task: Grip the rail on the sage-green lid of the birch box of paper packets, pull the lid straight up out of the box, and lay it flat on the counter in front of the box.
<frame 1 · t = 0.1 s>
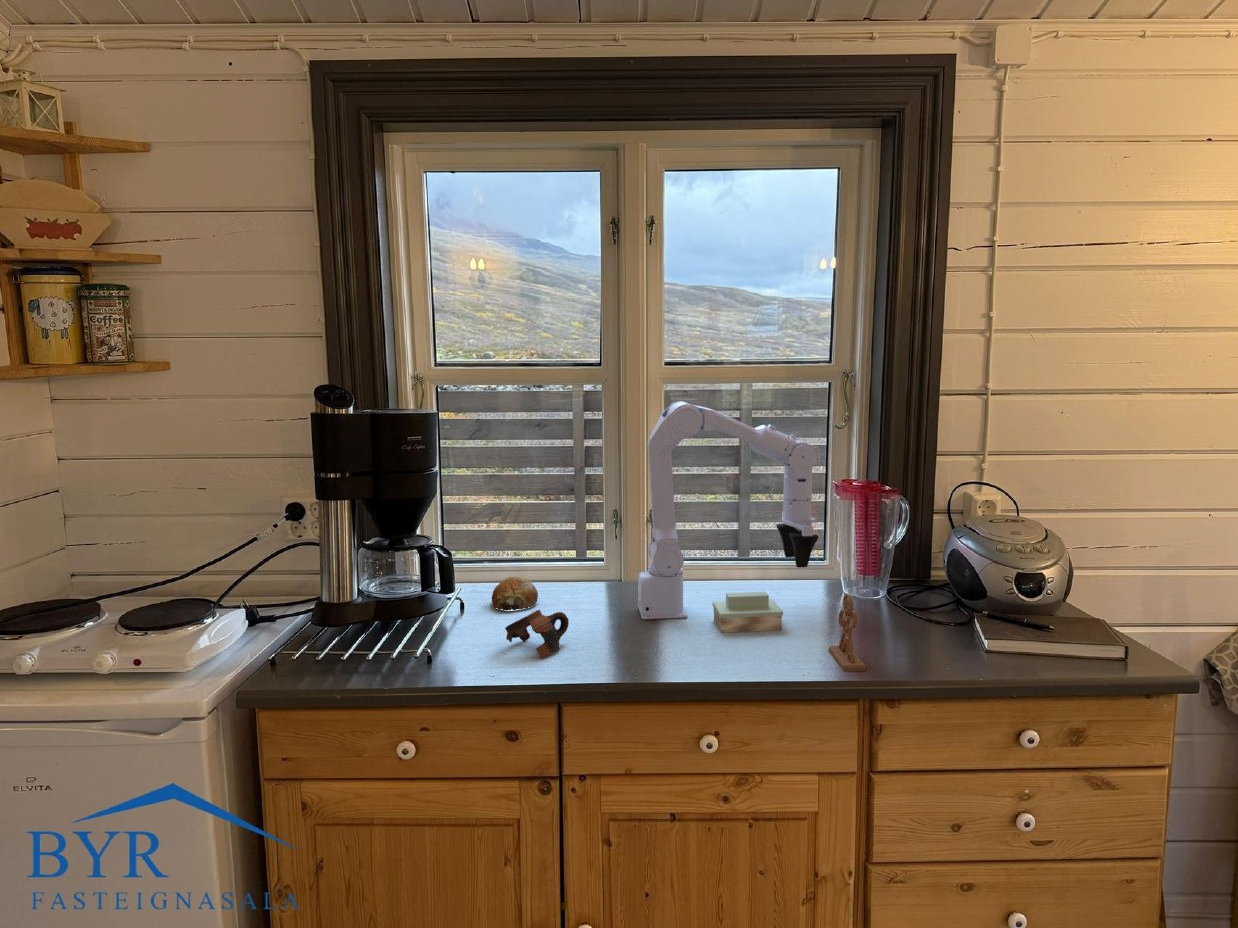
hand: (795, 561, 157), 10 cm above the worktop, tool pointing down, fingers open, 7 cm apart
lid: (747, 610, 149), point 3 cm above the worktop, touching box
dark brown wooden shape: (539, 649, 139), on the worktop
bread roll: (514, 606, 163), on the worktop
tan tall carved piece: (846, 661, 131), on the worktop
box: (746, 624, 149), on the worktop
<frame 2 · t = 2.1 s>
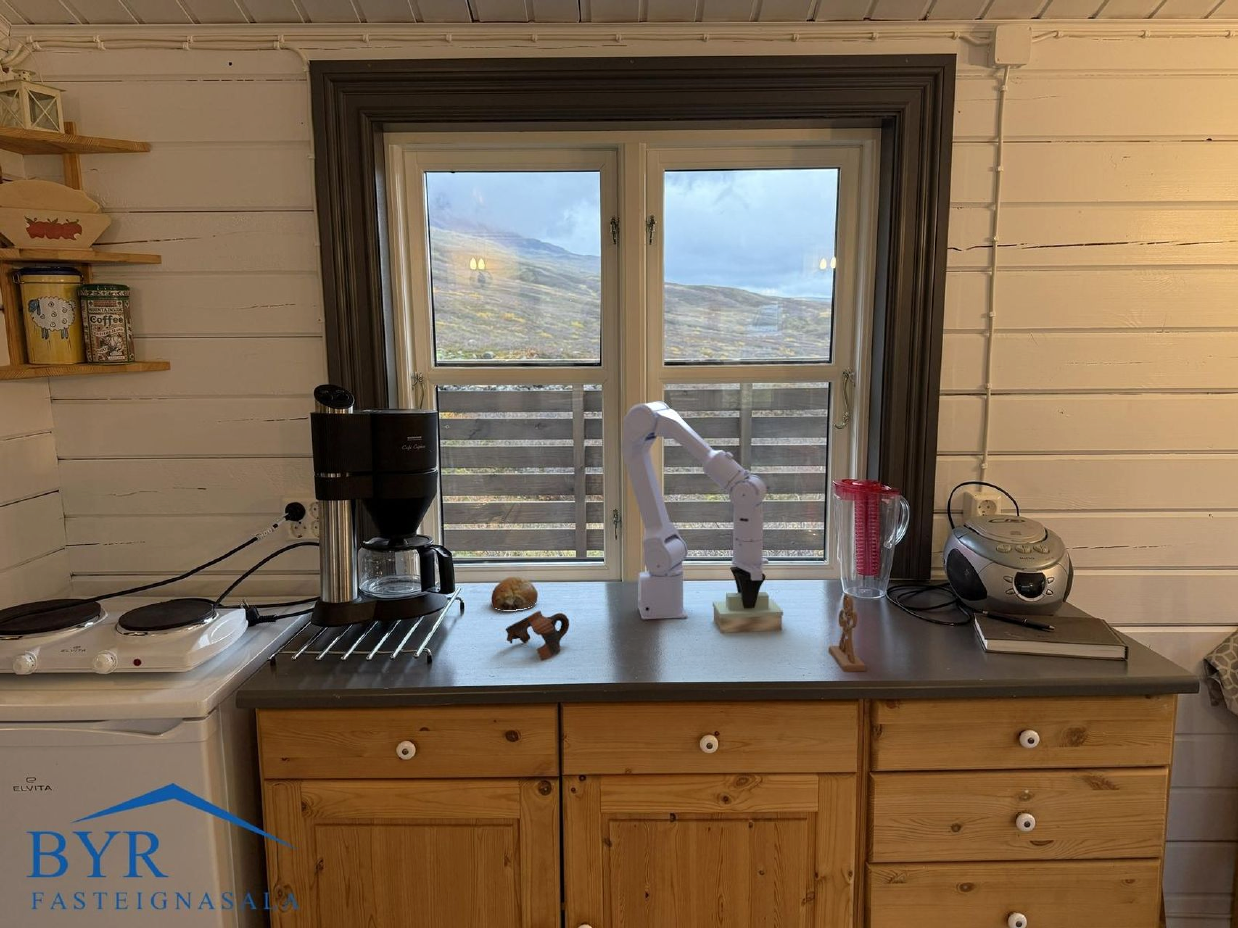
hand: (747, 605, 149), 4 cm above the worktop, tool pointing down, fingers closed on lid, 2 cm apart
lid: (747, 610, 149), point 3 cm above the worktop, touching box, gripper
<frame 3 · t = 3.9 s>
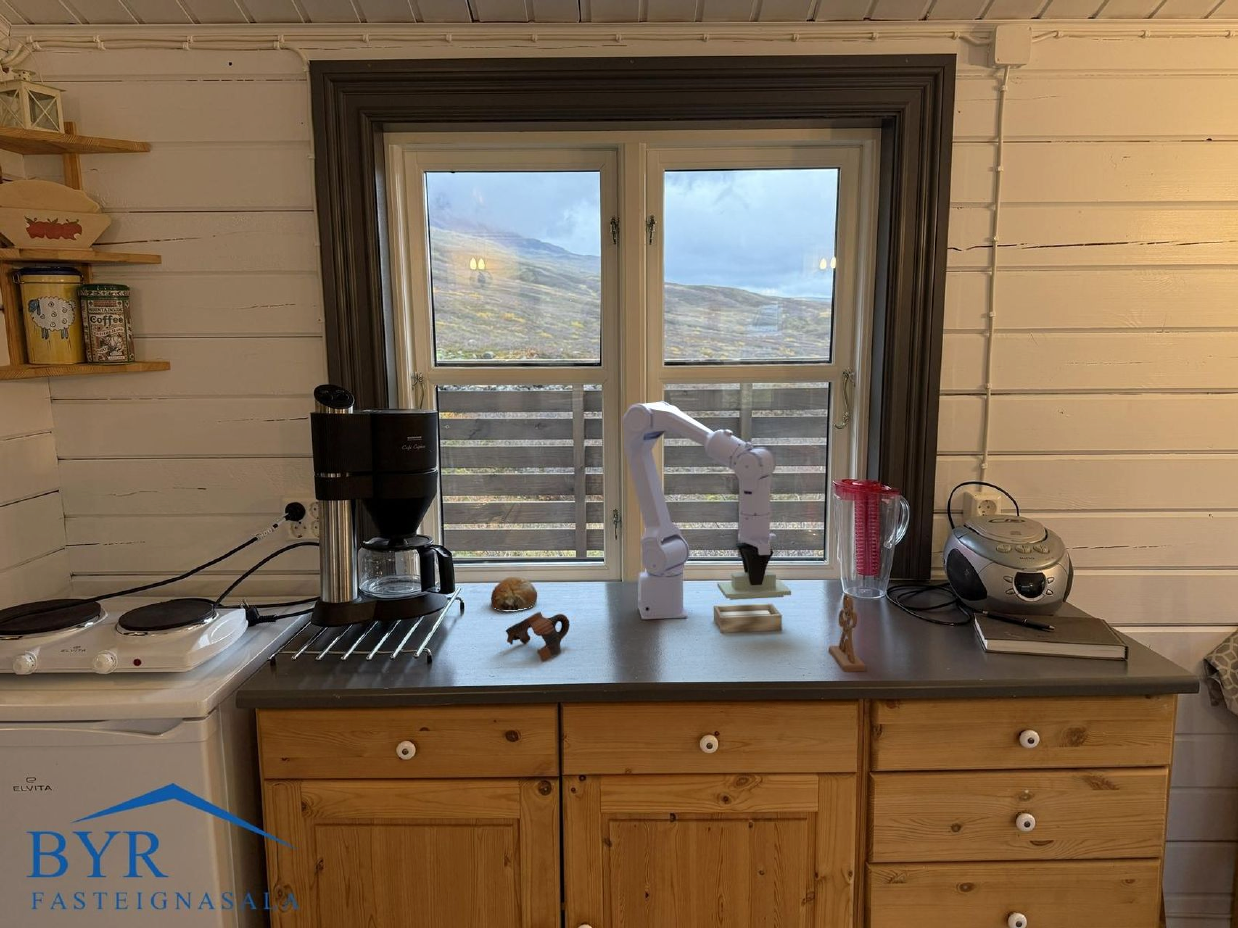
hand: (754, 582, 143), 10 cm above the worktop, tool pointing down, fingers closed on lid, 2 cm apart
lid: (753, 590, 143), point 9 cm above the worktop, touching gripper
when the fingers open (3 cm above the worktop, at t = 5.5 s): lid stays where it is, on the worktop.
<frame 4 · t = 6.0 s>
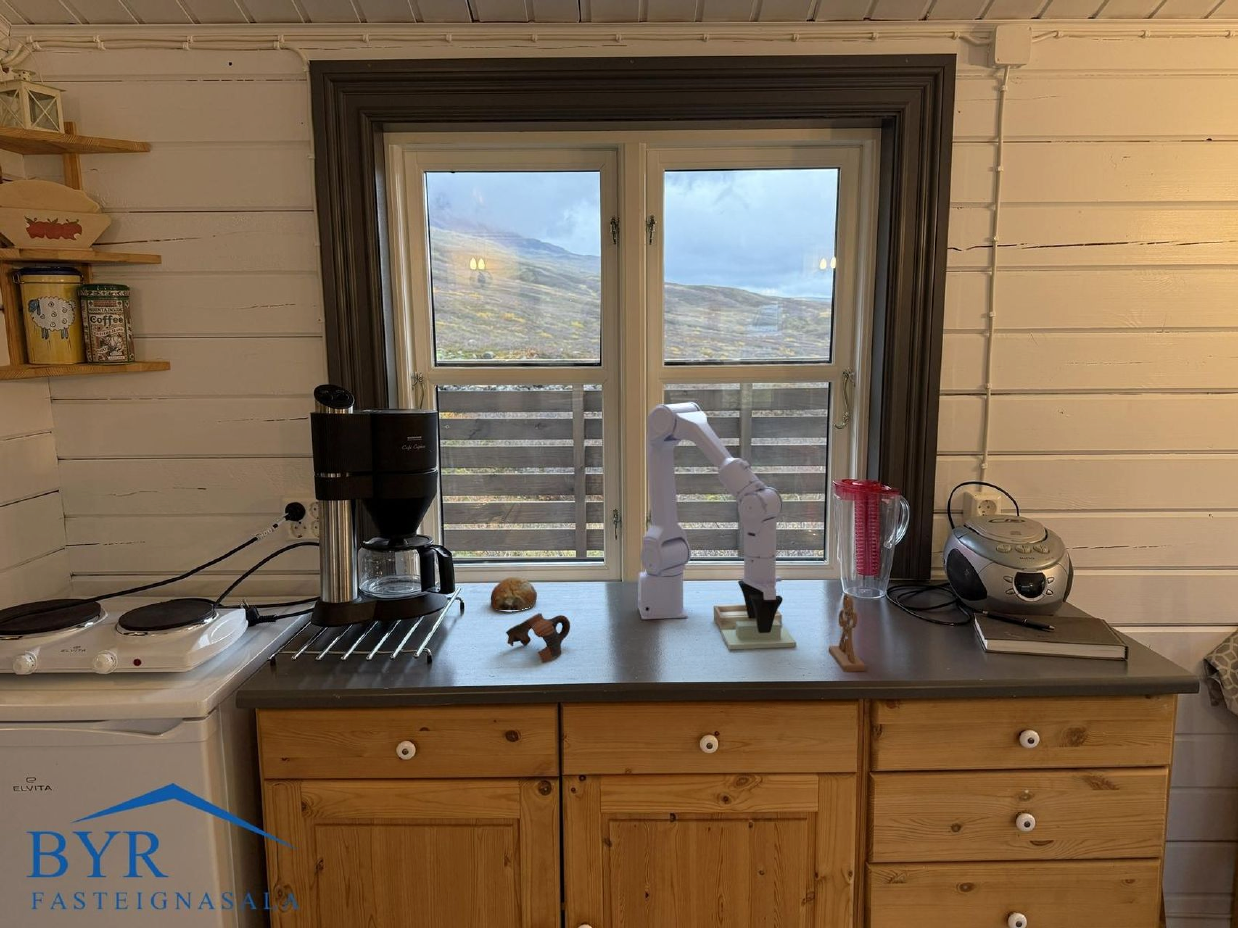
hand: (759, 624, 140), 3 cm above the worktop, tool pointing down, fingers open, 7 cm apart
lid: (757, 640, 140), on the worktop
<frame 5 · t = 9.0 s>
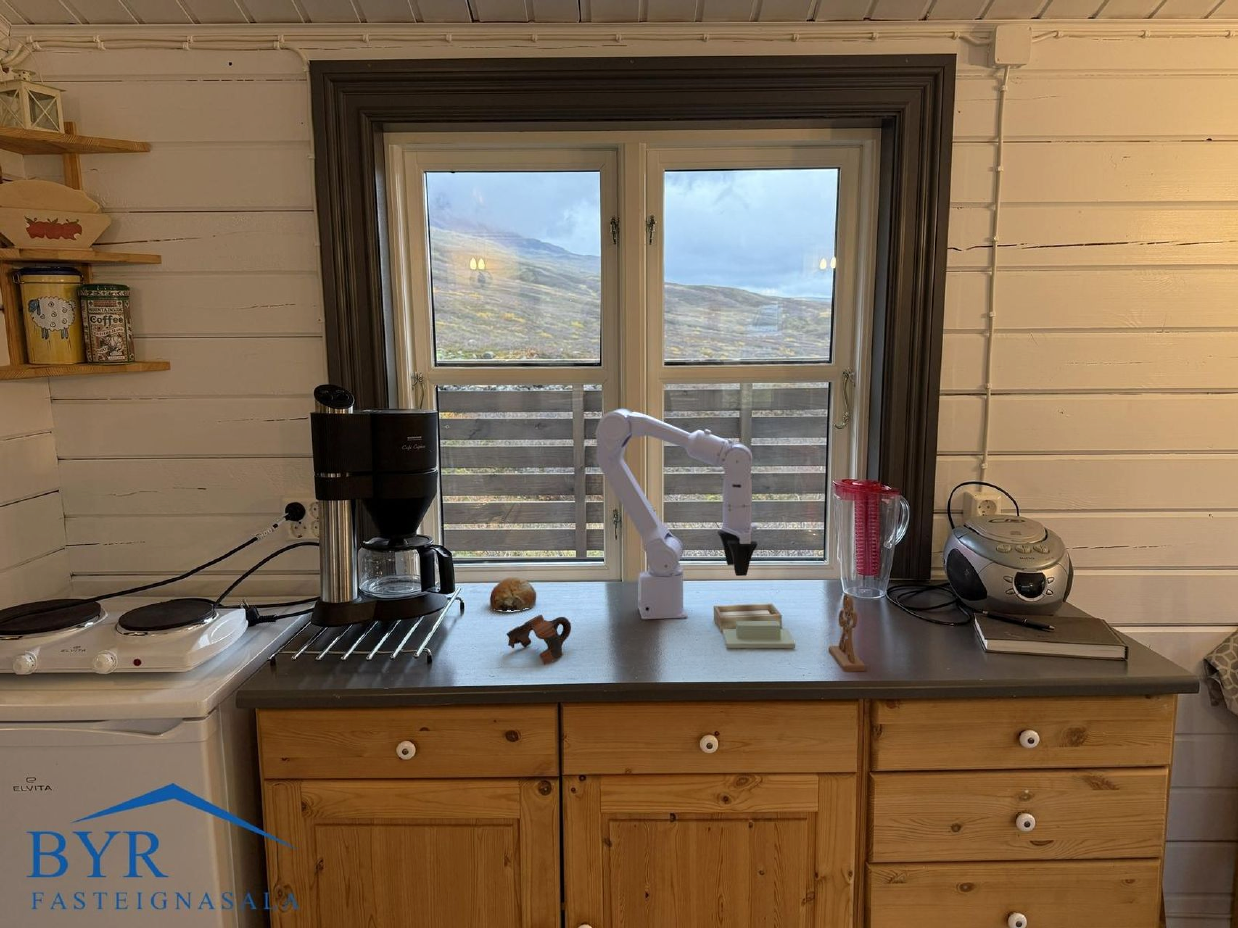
hand: (736, 569, 153), 10 cm above the worktop, tool pointing down, fingers open, 7 cm apart
at the end: lid inside the target area (0.3 cm from its centre), on the worktop; lid tilted 0°; the gripper is holding nothing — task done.
